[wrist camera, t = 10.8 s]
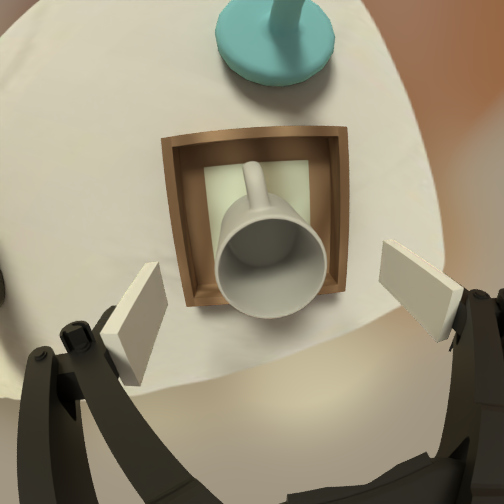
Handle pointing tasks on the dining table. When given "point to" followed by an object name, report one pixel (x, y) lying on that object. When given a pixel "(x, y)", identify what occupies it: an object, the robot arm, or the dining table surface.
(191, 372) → the dining table surface
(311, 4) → the teal branch stand
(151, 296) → the robot arm
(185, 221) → the walnut box
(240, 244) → the mug
